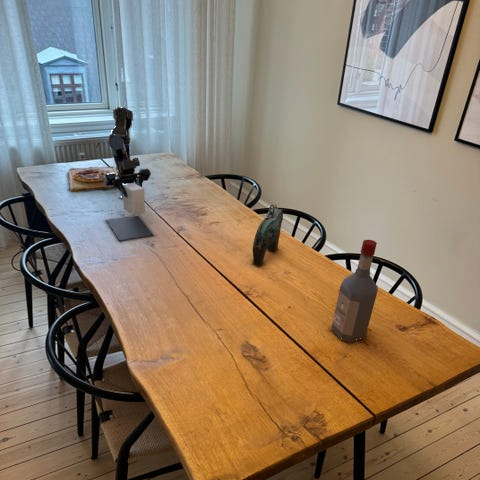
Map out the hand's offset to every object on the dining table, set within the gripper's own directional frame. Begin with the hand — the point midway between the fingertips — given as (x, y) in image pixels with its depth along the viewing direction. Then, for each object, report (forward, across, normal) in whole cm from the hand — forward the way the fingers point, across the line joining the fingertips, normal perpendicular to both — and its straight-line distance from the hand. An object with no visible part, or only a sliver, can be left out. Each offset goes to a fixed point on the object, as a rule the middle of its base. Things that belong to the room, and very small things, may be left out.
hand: (134, 196), depth 185 cm
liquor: (+81, +27, -63) cm, 106 cm away
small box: (+4, 0, +6) cm, 7 cm away
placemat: (+10, -4, +9) cm, 14 cm away
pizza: (-37, +3, +57) cm, 68 cm away
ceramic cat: (+44, +34, -25) cm, 61 cm away
